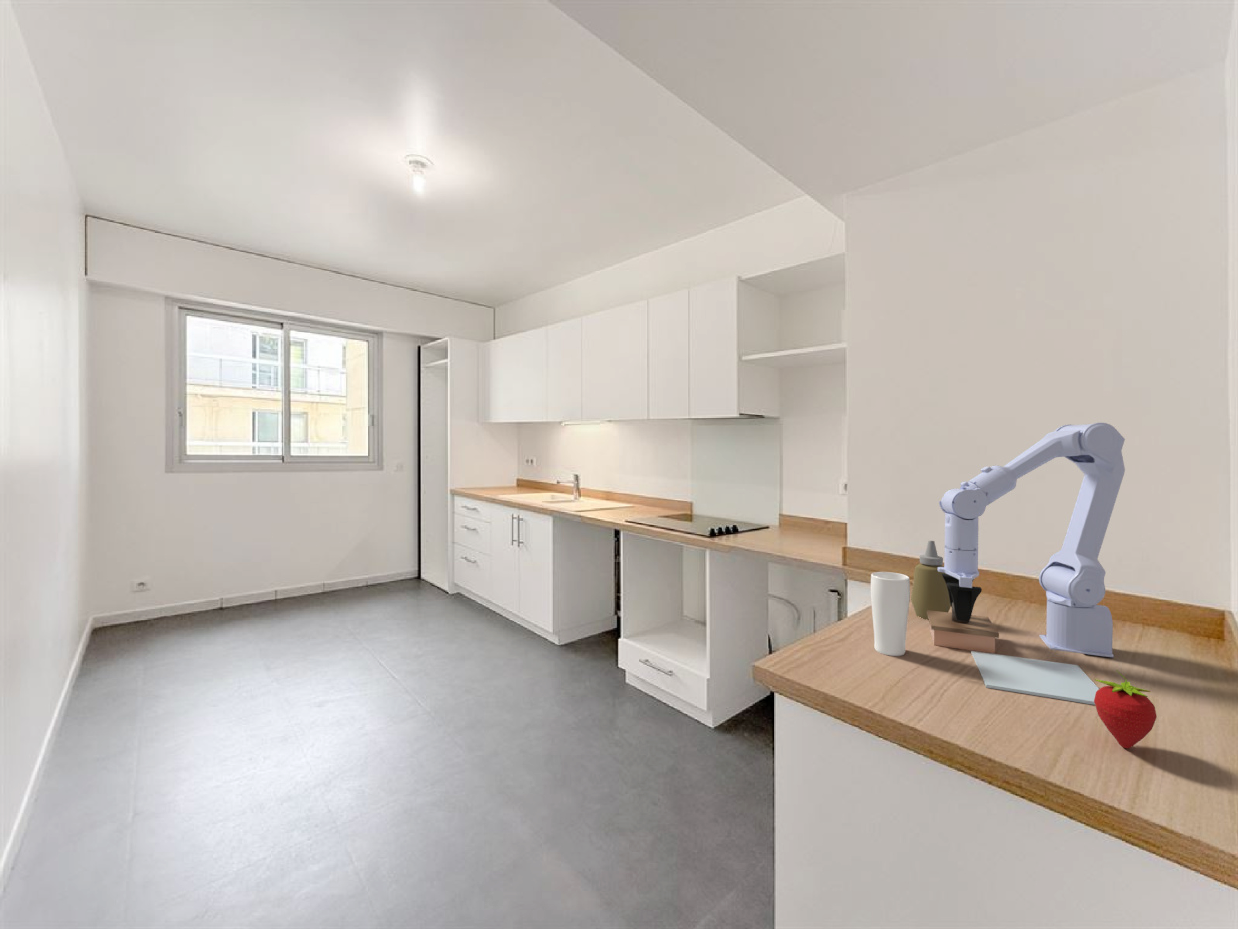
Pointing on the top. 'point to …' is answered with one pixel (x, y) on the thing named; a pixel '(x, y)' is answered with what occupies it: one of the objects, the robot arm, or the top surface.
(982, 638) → the shallow cardboard tray
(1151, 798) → the top surface
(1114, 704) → the strawberry
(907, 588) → the white cup
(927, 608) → the squeeze bottle
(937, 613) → the lid
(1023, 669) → the mat
